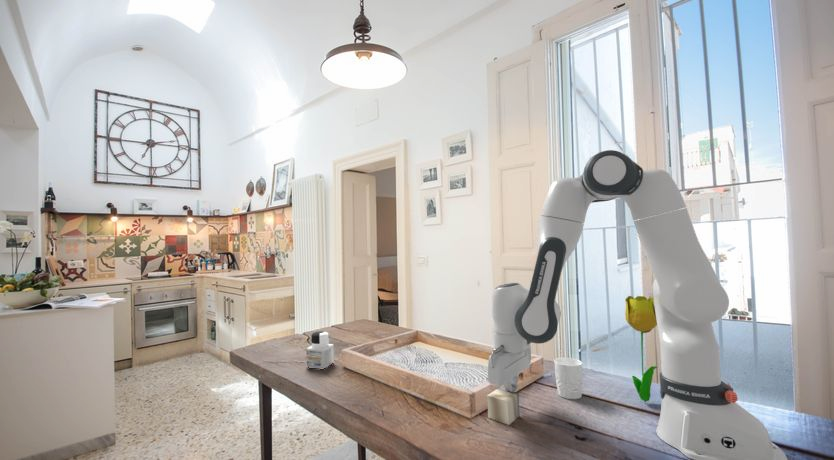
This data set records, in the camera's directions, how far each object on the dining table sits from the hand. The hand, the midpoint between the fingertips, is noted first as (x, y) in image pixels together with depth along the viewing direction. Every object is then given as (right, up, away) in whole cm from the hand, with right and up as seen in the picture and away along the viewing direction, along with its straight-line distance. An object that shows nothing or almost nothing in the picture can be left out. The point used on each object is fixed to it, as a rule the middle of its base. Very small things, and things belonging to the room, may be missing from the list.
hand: (511, 392), depth 101 cm
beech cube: (-1, -2, -2) cm, 3 cm away
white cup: (+20, -5, +9) cm, 22 cm away
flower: (+39, -4, +2) cm, 39 cm away
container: (-64, -8, +41) cm, 76 cm away
